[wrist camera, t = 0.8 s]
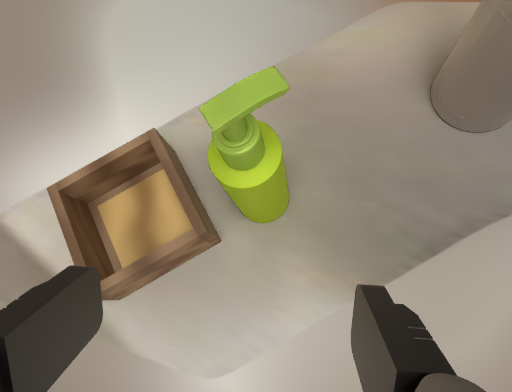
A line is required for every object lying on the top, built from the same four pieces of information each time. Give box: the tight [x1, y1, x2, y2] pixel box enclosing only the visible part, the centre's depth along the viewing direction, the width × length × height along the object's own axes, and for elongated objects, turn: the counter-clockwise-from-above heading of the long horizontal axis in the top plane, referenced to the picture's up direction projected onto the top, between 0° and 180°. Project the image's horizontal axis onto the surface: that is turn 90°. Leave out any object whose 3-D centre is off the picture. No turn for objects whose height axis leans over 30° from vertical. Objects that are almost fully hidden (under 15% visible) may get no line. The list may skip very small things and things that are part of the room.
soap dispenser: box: [199, 66, 290, 223], centre depth 30 cm, size 6×7×20 cm
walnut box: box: [47, 128, 221, 300], centre depth 38 cm, size 13×13×6 cm
